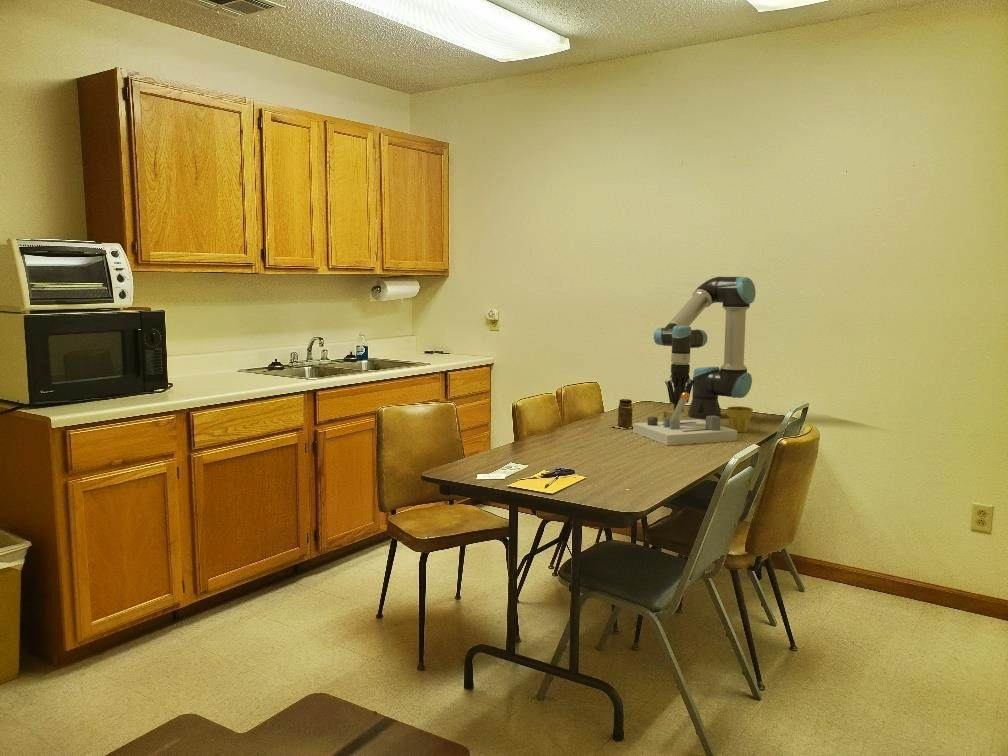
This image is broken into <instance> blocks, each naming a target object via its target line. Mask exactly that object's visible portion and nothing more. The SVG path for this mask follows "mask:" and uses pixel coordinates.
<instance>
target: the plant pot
mask: <svg viewBox="0 0 1008 756" xmlns="http://www.w3.org/2000/svg"><path fill="white" fill-rule="evenodd" d="M753 411H754V409H753V408H752V407H749V406H728V407H727V408H726V415H727V417H728V420H729V426H730V427H729V428H731V429H734V430H737V433H746V432H748V430H749V427H750V422H751V418H752V417H753V416H754V415H753Z"/></svg>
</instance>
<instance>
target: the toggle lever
mask: <svg viewBox="0 0 1008 756" xmlns="http://www.w3.org/2000/svg"><path fill="white" fill-rule="evenodd" d="M690 397H691V394H690V395H689V393H688V392H683V393H682V394H681V398H680V400H679V402H678V404H677V406H676V408H675V410H674V409H673V411H674V412H673V414H672V416H671V418H670V420H678V418H679V416H680V414H681V412H682V410H683V408H685V406H686V404H687V403H686V402H687V400H688V399H689V400H690ZM682 413H683V412H682ZM669 423H670V421H669Z"/></svg>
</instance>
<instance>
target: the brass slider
mask: <svg viewBox="0 0 1008 756" xmlns="http://www.w3.org/2000/svg"><path fill="white" fill-rule="evenodd" d="M673 412H674V410H664V411H663V420H662V422H663V423H664V418H671V416H672V414H673Z"/></svg>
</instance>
